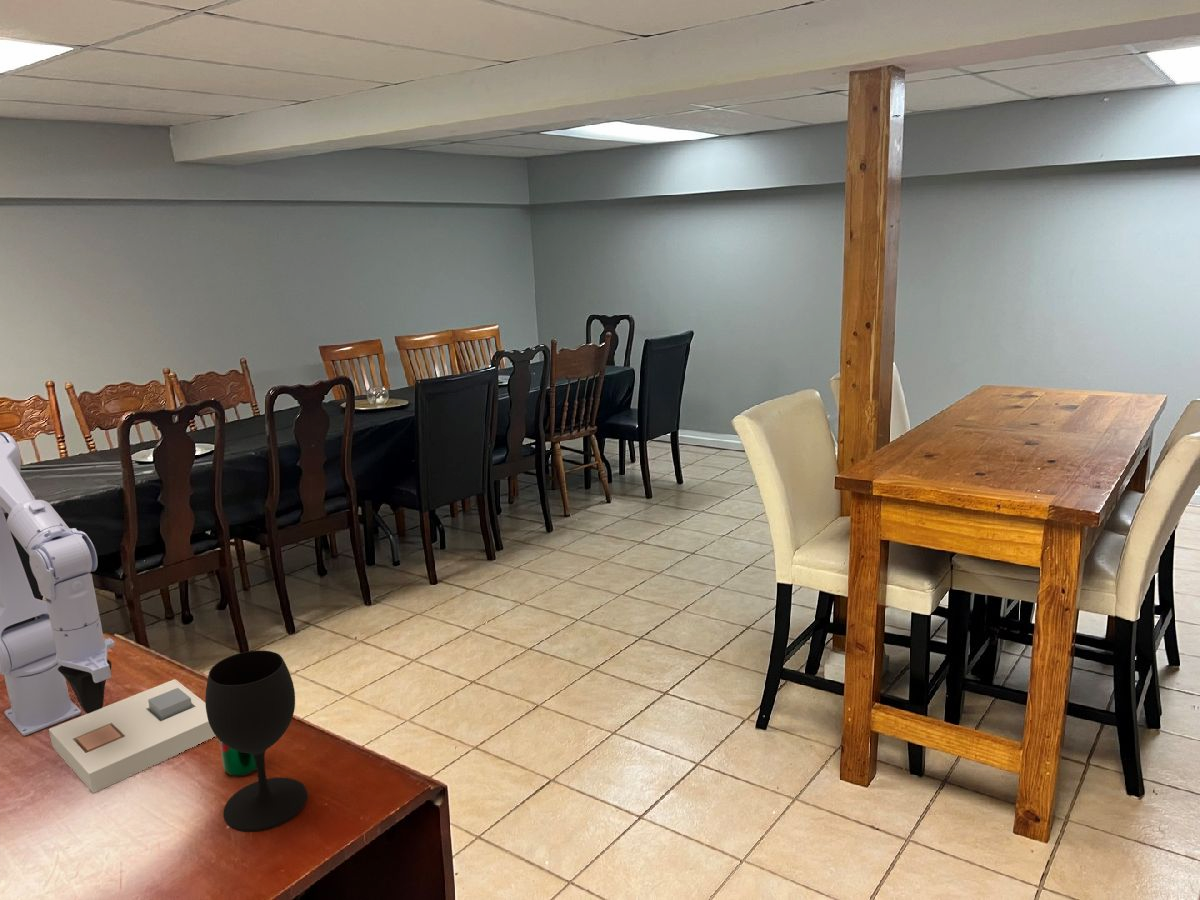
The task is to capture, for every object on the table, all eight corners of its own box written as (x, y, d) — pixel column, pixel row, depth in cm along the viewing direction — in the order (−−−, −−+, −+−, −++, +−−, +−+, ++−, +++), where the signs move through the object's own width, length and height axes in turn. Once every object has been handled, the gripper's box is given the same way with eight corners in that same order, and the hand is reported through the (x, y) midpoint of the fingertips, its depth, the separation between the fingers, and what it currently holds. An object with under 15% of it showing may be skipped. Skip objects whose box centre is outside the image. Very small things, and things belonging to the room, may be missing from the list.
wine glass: (222, 792, 116) (201, 657, 111) (304, 771, 120) (287, 640, 115) (223, 841, 107) (200, 697, 102) (311, 817, 111) (293, 677, 106)
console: (52, 747, 127) (48, 729, 126) (177, 695, 140) (174, 679, 139) (93, 793, 117) (89, 773, 116) (224, 733, 129) (221, 715, 129)
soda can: (249, 780, 119) (238, 702, 115) (216, 775, 120) (204, 698, 116) (270, 757, 123) (259, 682, 120) (238, 754, 124) (226, 678, 121)
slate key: (150, 711, 131) (148, 699, 130) (179, 699, 134) (177, 687, 133) (162, 722, 128) (160, 710, 127) (192, 709, 131) (190, 697, 131)
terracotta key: (79, 750, 124) (76, 738, 124) (111, 736, 127) (109, 724, 127) (90, 762, 121) (87, 750, 121) (123, 748, 124) (121, 736, 124)
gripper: (127, 626, 117) (143, 715, 121) (88, 596, 127) (104, 680, 130) (69, 646, 112) (88, 738, 116) (33, 613, 121) (51, 699, 125)
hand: (93, 709), depth 123 cm, fingers closed
